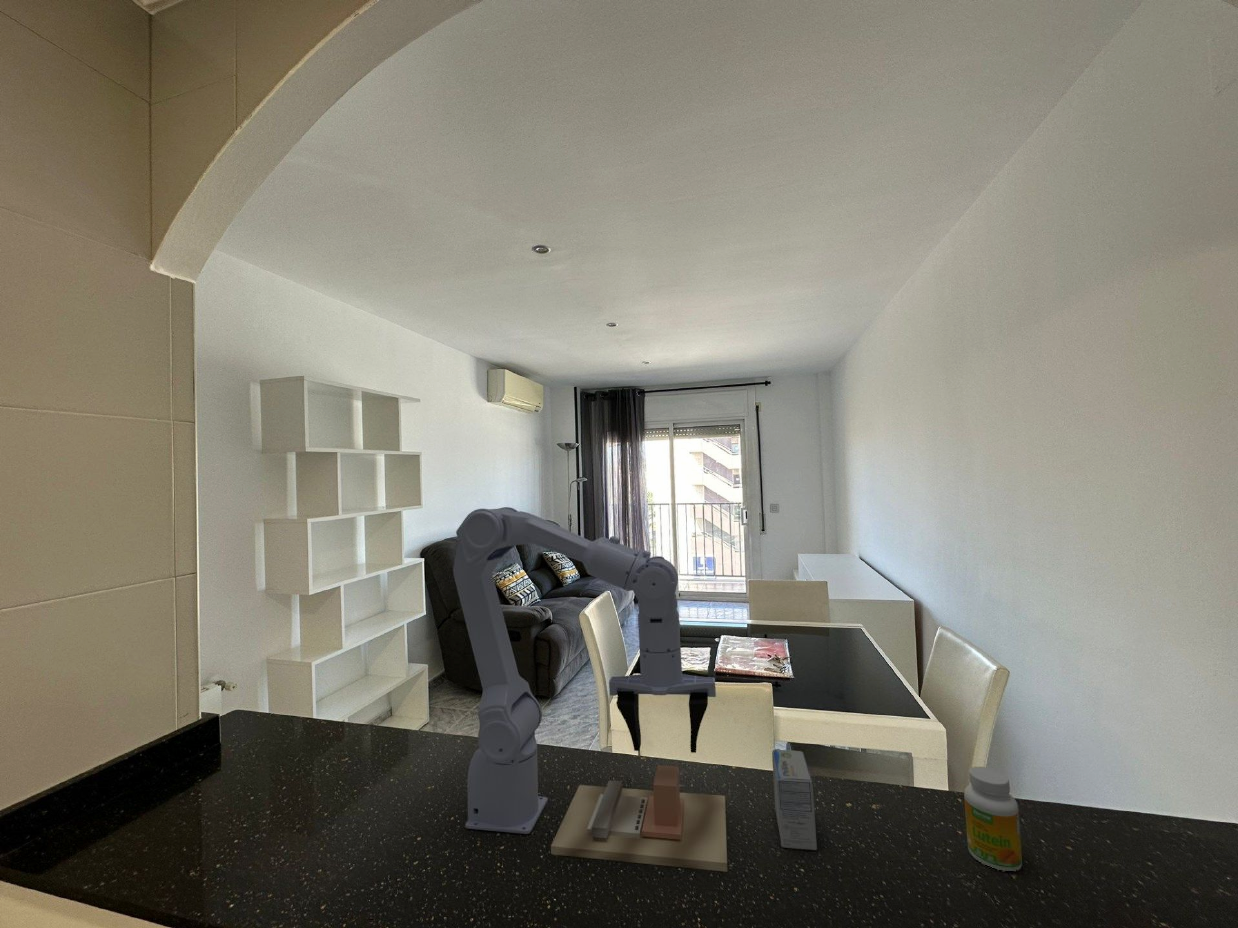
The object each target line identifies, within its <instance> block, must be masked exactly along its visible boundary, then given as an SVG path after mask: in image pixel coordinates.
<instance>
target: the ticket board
mask: <svg viewBox="0 0 1238 928" xmlns="http://www.w3.org/2000/svg"><path fill="white" fill-rule="evenodd" d="M649 796H654V791H653V790H652V789H651V790H650V789H637V788H624V787H623V781H622V780H621V781H620V780H608V782H607V784H606V786H596V785H587V784H586V785H585V784H584V785H583V784H579V785H578V787H577V789H576V791H575V794H574V796H573V798H572V800H571V802H570V804H569V807H568V809H567V810H566V812H565V813H566V814H564V817H563V819H562V821H561V823H560V826H559V828H558V830H557V832H556V835H555V836H554V837H553V841H552V843H551V845H550V854H551V855H555V856H564V857H565V856H567V857H576V858H584V859H598V860H604V861H605V860H606V861H615V862H626V863H636V864H647V865H656V866H665V867H675V868H677V867H678V868H686V869H695V870H705V871H715V872H716V871H717V872H724V873H725V872H726V873H728V853H727V852H728V851H727V845H728V844H727V821H726V820H727V816H726V812H727V811H726V795H721V794H719V795H718V794H707V793H705V794H703V793H691V792H680V798H684V812H683V822H682V832H681V840H679V839H668V838H657V837H646V836H642V828H643V823H644V819H645V814H646V810H647V805H648V800H649Z"/></svg>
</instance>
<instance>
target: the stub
mask: <svg viewBox="0 0 1238 928" xmlns="http://www.w3.org/2000/svg"><path fill="white" fill-rule="evenodd" d="M652 787H653V788H652V789H653V791H654V796H649V800H648V805H647V810H646V814H645V819H644V823H643V828H642V836H646V837H657V838H668V839H679V840H681V832H682V822H683V812H684V798H680V793H681V792H680V790H681V789H680V766H675V765H674V766H673V765H660V764H657V765H656V771H655V775H654V780H653V785H652Z"/></svg>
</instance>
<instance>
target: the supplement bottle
mask: <svg viewBox="0 0 1238 928" xmlns="http://www.w3.org/2000/svg"><path fill="white" fill-rule="evenodd" d="M968 771H969V772H968V775H969V776H968V777H969V783H970V784H968V785H967V786H966V787H965V789H964V793H963V794H964V796H963V797H964V811H965V812H964V813H965V825H966V826H965V827H966V839H967V842H966V843H967V848H968V852H969V853H970V855H971V856H972V857H973V858H974V859H975V860H976V861H977V860H978V862H979V863H980V862H981V863H980V864H982V865H983V866H985V865H987V866H990V867H992V868H995V869H997V870H996V871H999V870H1002V871H1001V872H1005V871H1014V872H1017V871H1020V870H1021V868H1022V866H1023V857H1022V856H1023V854H1022V853H1023V852H1022V841H1021V840H1022V839H1021V829H1020V815H1019V813H1020V811H1019V805H1018V802H1017V801H1016V799H1015V797H1013V796H1012V794H1010V793H1011V786H1010V780H1009V777H1008V776H1007V775H1006V774H1004V773H1003V772H1001V771H998V770H996V769H995V768H994V769H993V768H990V767H986V766H973V767H971V768H969V770H968ZM987 866H986V867H987ZM990 867H989V868H990ZM992 868H991V869H992ZM995 869H994V870H995ZM1016 870H1017V871H1016Z"/></svg>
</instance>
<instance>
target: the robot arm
mask: <svg viewBox="0 0 1238 928" xmlns="http://www.w3.org/2000/svg"><path fill="white" fill-rule="evenodd" d="M455 533H456V534H455V535H456V537H457V542H458V543H457V547H456V553H455V558H454V562H453V563H454V564H453V567H452V568H453V569H452V572H453V577H454V578H453V579H454V582H455V585H456V589H457V593H458V594H457V595H458V597H459V602H460V605H461V610H462V613H463V617H464V618H463V619H464V621H465V625H466V629H467V632H468V637H469V640H470V644H471V649H472V652H473V656H474V657H473V658H474V660H475V664H476V667H477V668H476V669H477V671H478V672H477V673H478V676H479V680H480V683H481V687H482V695H481V697H480V701H479V705H478V707H477V708H478V709H477V716H478V721H479V728H478V734H477V740H478V741H477V742H478V743H477V744H478V747H479V748H477V749H476V750H475V752H474V754H473V755H472V757H471V759H470V763H469V767H468V770H467V771H468V772H467V820H466V823H465V829H470V830H479V831H481V830H482V831H492V832H502V833H511V834H512V833H513V834H522V835H523V834H525V835H529V834H530V833H531V832H532V830H533V828H534V827H535V825H536V823H537V821H538V820H539V818H540V816H541V814H542V813H543V810H544V808H545V807H546V805H547V803H548V799H549V798H548V797H546V796H539V780H538V778H539V775H538V773H539V772H538V742H537V739H536V730H538V728H539V726H540V725H541V722H542V717H543V711H542V707H541V705H540V702H539V700H537V698H536V697H535V696H534V695H533V693H532V690H531V688H530V683H529V682H528V681H527V680H525V678H523V677H522V676H520V674H519V671H518V666H517V663H516V658H515V655H514V652H513V647H512V643H511V641H510V640H511V639H510V635H509V633H508V628H507V624H506V621H505V617H504V613H503V610H502V606H501V602H500V598H499V594H498V590H497V587H496V583H495V580H494V576H493V574H494V571H495V570H496V568H497V567H498V566H499V564H500V562H501V561H502V559H503V557H504V556H505V555H506V554H508V552H510V551H511V550H512V549H513V548H515V547H516V546H520V545H527V544H528V545H529V544H533V545H536V546H538V547H542V548H544V549H547V550H548V551H552V552H554V553H558V554H559V555H563V556H565V557H568V558H571V559H574V560H576V561H578V562H581V563H582V564H583V566H584V569H585V570H586V573H587V574H588V575H590V576H591V577H594V578H597V579H599V580H601V581H603V582H605V583H608V584H610V585H613V586H615V587H617V588H620V589H623V590H625V591H627V592H632V591H633V594H634V595H635V598H637V601H638V602H637V603H638V614H637V625H638V626H637V627H638V640H639V641H638V643H639V646H638V647H639V649H638V651H639V665H640V673H639V674H632V675H622V676H621V675H619V676H611V677H610V679H609V681H608V689H609V691H608V692H609V696H616V697H617V700H616V707H617V709H618V710H619V712H620V714H621V716H622V718H623V720H624V722H625V724H626V726H627V729H628V732H629V735H630V737H631V742H632V745H633V746H632V747H633V751H634V752H639V751H640V748H641V746H642V734H641V732H642V731H641V725H640V724H641V723H640V712H639V711H640V709H639V708H640V707H639V706H640V705H639V704H640V703H639V699H640V695H653V696H667V695H673V696H674V695H680V696H681V695H686V696H689V698H688V711H689V722H690V723H689V724H690V744H689V745H690V746H689V747H690V753H692V754H696V753H697V741H698V737H699V732H700V731H699V730H700V727H701V724H702V721H703V718H704V715H705V713H706V712H707V709H708V706H709V705H708V704H709V702H708V701H709V698H716V697H717V691H716V677H709V676H707V677H706V676H698V675H692V674H691V675H690V674H683V666H682V652H681V651H682V650H681V632H680V613H679V611H678V600H677V599H678V598H677V594H676V591H677V586H678V581H679V576H678V571H677V569H676V567H675V566H674V565H673V564H672V562H671V561H670V560H667V559H665V557H663V556H659V555H658V556H657V555H656V556H655V555H654V556H651V552H650V551H648V550H643V551H642V552H641V551H639V550H637V549H635V548H632V547H629V546H627V545H624V544H622V543H620V542H621V539H620V538H619V537H617V536H614V535H612V536H610V537H609V538H607V537H605V536H602V537H598V538H597V539H595V540H593V541H592V540H589V539H587V538H585V537H584V536H581V535H578V534H576V533H574V532H572V531H570V530H568V529H566V528H565V527H564V528H563V527H561V526H559V525H557V524H555V523H554V522H553V523H552V522H550V521H548V520H546V519H544V518H542V517H540V516H537V515H535V514H532V513H530V512H526V511H521V510H520V511H518V510H517V509H515V508H513V507H509V506H505V507H503V506H502V507H499V508H490V509H489V508H488V509H487V508H476V509H474V510H473V511H471V512H469V513H468V514H467V515H466V516H465V518H464V520H463V521H462V522H461V524H460V525H459V526H458V528H457V530H456V531H455Z"/></svg>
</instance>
